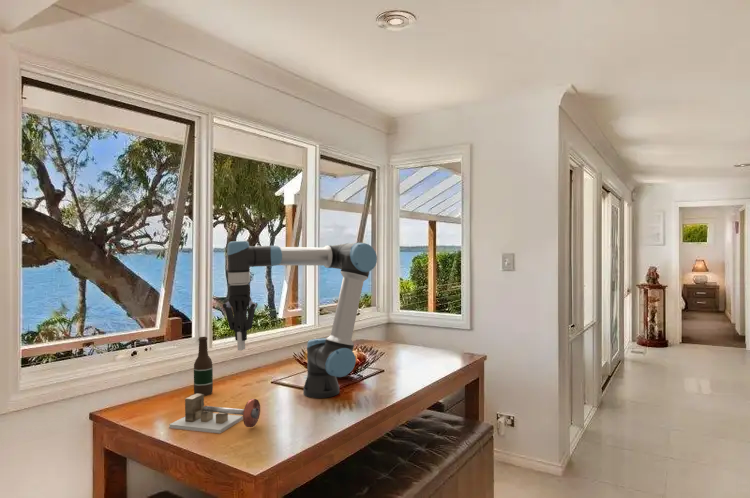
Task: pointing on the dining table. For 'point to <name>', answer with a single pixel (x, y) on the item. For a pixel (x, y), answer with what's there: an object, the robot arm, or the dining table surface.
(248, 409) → the disc-ended rod
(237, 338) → the robot arm
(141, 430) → the dining table surface
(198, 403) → the eye bracket
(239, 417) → the base board
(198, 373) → the beer bottle
